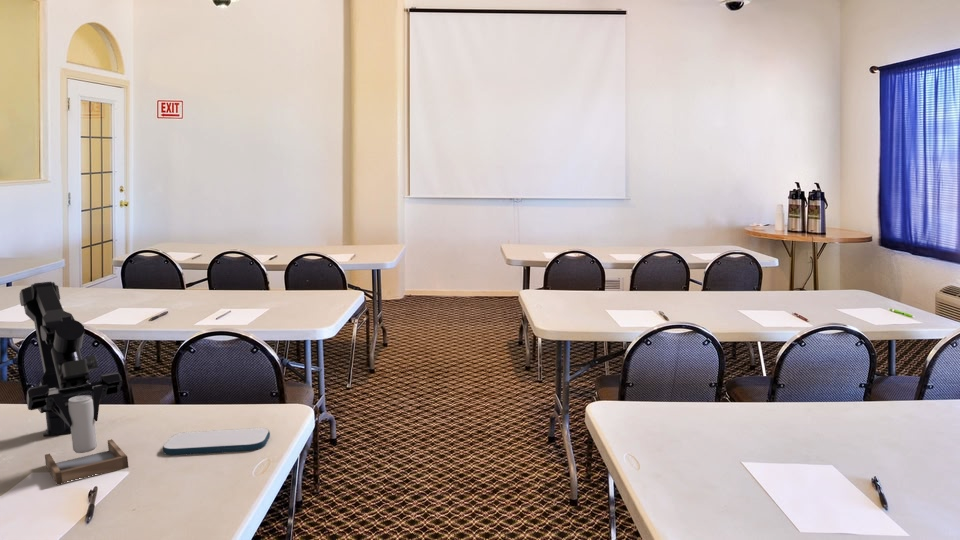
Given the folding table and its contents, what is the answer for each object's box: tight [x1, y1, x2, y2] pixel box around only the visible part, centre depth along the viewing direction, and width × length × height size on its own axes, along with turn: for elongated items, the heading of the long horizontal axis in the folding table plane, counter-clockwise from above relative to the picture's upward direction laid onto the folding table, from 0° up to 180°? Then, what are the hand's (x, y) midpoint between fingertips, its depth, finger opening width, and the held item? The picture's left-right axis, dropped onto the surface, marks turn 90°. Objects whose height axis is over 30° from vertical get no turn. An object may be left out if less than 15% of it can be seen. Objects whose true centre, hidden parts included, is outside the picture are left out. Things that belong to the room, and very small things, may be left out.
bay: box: [44, 439, 129, 485], centre depth 163 cm, size 14×14×2 cm
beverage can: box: [68, 394, 98, 454], centre depth 162 cm, size 5×5×12 cm
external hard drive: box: [162, 427, 271, 456], centre depth 175 cm, size 24×12×2 cm, turn 96°
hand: (83, 423), depth 161 cm, fingers closed on beverage can, 5 cm apart
